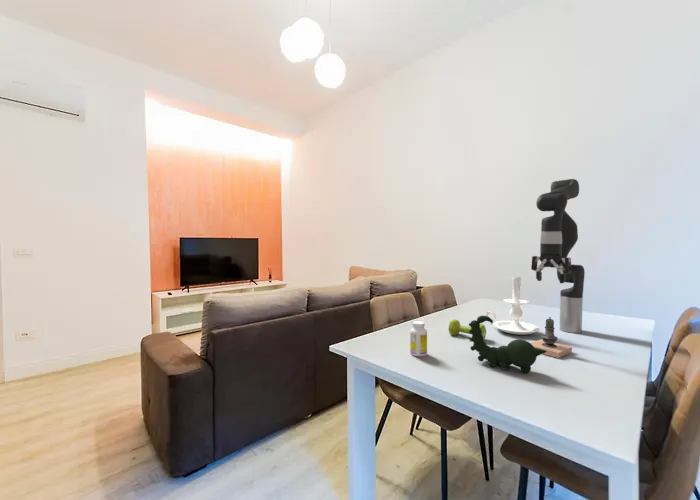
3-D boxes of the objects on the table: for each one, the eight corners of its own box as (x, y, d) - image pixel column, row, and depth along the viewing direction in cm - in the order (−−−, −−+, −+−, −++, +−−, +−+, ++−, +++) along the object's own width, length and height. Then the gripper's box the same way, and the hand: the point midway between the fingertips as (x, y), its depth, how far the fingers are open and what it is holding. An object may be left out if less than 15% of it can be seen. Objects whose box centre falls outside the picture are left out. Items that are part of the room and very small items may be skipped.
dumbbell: (446, 335, 154) (446, 320, 154) (454, 332, 160) (454, 317, 160) (480, 343, 143) (480, 327, 143) (487, 339, 149) (488, 323, 148)
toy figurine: (468, 367, 120) (545, 381, 104) (464, 317, 120) (541, 322, 104) (477, 360, 127) (550, 371, 111) (473, 312, 128) (546, 316, 111)
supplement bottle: (427, 352, 132) (428, 321, 131) (426, 358, 125) (426, 325, 125) (411, 350, 134) (411, 319, 133) (408, 356, 128) (409, 323, 127)
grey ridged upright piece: (560, 348, 129) (561, 318, 129) (544, 347, 131) (544, 318, 130) (554, 343, 135) (554, 315, 135) (538, 342, 136) (539, 314, 136)
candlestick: (491, 323, 176) (492, 272, 175) (543, 331, 160) (545, 275, 159) (478, 331, 161) (479, 275, 160) (534, 341, 145) (535, 279, 144)
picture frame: (541, 339, 141) (526, 344, 134) (572, 346, 131) (558, 352, 124) (540, 344, 141) (526, 349, 134) (571, 352, 131) (558, 358, 124)
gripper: (528, 242, 136) (528, 280, 137) (566, 243, 124) (565, 284, 125) (537, 242, 140) (536, 279, 141) (574, 242, 128) (573, 283, 129)
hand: (550, 281), depth 133 cm, fingers open, 8 cm apart
